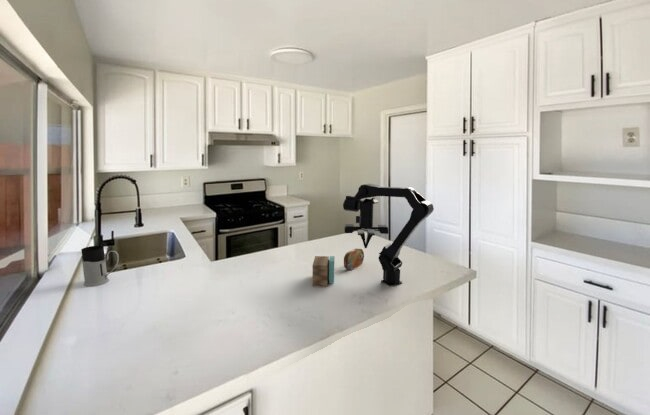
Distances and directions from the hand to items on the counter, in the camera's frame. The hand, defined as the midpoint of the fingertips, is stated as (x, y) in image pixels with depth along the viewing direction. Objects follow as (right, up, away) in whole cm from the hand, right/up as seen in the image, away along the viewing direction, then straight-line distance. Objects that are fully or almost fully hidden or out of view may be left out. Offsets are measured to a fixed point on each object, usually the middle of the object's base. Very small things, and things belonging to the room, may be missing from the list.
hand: (365, 248), depth 141 cm
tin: (-4, -11, +14) cm, 18 cm away
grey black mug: (-111, -14, -6) cm, 112 cm away
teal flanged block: (-18, -13, -4) cm, 23 cm away
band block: (-19, -14, -3) cm, 24 cm away
